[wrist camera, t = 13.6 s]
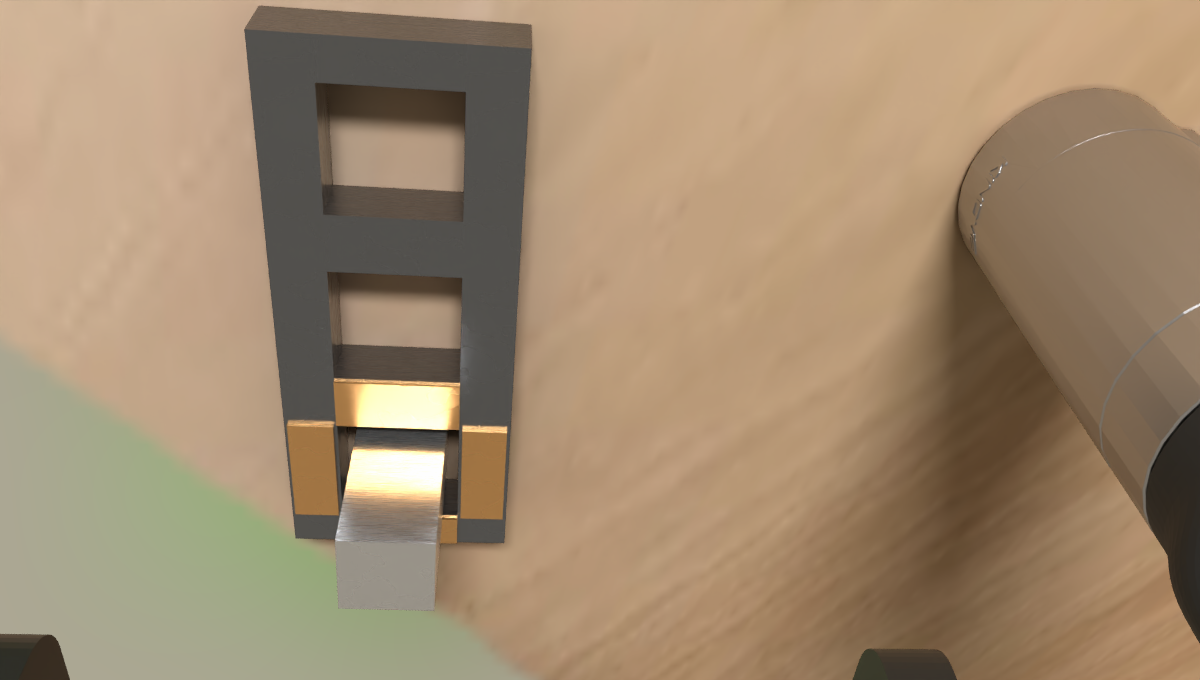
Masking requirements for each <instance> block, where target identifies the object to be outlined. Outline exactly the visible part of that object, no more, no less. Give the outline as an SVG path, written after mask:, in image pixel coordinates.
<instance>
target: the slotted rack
mask: <svg viewBox="0 0 1200 680" xmlns="http://www.w3.org/2000/svg"><path fill="white" fill-rule="evenodd" d="M244 30H245V40H246V50H247V60H248V70H249V80H250V90H251V100H252V110H253V120H254V130H255V139H256V149H257V159H258V169H259V179H260V189H261V199H262V209H263V219H264V229H265V239H266V249H267V259H268V268H269V278H270V288H271V298H272V308H273V318H274V328H275V338H276V348H277V358H278V368H279V378H280V388H281V398H282V407H283V417H284V427H285V437H286V447H287V457H288V467H289V477H290V487H291V497H292V507H293V517H294V527H295V536H296V538H304V539H335V538H336V533H337V528H338V523H339V518H340V513H341V508H342V503H343V498H344V493H345V488H346V483H347V477H348V472H349V457H348V440H347V426H355V427H386V428H416V429H447V430H459V463H458V480H455V479H446V483H445V495H444V506H443V517H442V529H441V540H440V543H455V544H457V542H480V543H504V538H505V520H506V502H507V484H508V466H509V447H510V429H511V411H512V393H513V375H514V357H515V339H516V321H517V303H518V285H519V267H520V249H521V231H522V213H523V195H524V177H525V159H526V141H527V123H528V105H529V87H530V69H531V50H532V40H531V25H528V24H514V23H499V22H485V21H470V20H456V19H442V18H427V17H413V16H399V15H384V14H370V13H356V12H341V11H327V10H313V9H298V8H284V7H269V6H258V8H257V10H256V11H255V13H254V14H253V16H252V18H251V19H250V21H249V23H248V24H247V26H246V27H245V29H244ZM327 83H329V84H345V85H361V86H377V87H393V88H408V89H424V90H440V91H456V92H466V112H465V162H464V192H451V191H433V190H414V189H396V188H378V187H359V186H341V185H333V180H332V163H331V146H330V128H329V111H328V94H327ZM338 272H344V273H366V274H387V275H409V276H430V277H452V278H462V312H461V349H441V348H416V347H391V346H366V345H342V336H341V319H340V301H339V284H338Z"/></svg>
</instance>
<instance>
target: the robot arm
mask: <svg viewBox="0 0 1200 680" xmlns="http://www.w3.org/2000/svg"><path fill="white" fill-rule="evenodd" d="M958 219H959V227H960V231H961V234H962V237H963V240H964V243H965V245H966V246H967V248H968V249H969V251H970V252H971V254H972V255H973V257H974V259H975V260H976V262H977V263H978V265H979V266H980V268H981V270H982V271H983V273H984V274H985V276H986V277H987V279H988V281H989V282H990V284H991V285H992V287H993V288H994V290H995V291H996V293H997V295H998V297H999V298H1000V300H1001V301H1002V303H1003V305H1004V306H1005V308H1006V309H1007V311H1008V312H1009V314H1010V315H1011V317H1012V318H1013V320H1014V321H1015V323H1016V324H1017V326H1018V328H1019V329H1020V331H1021V332H1022V334H1023V335H1024V337H1025V338H1026V340H1027V341H1028V343H1029V344H1030V346H1031V347H1032V349H1033V351H1034V352H1035V354H1036V355H1037V357H1038V358H1039V360H1040V361H1041V363H1042V364H1043V366H1044V367H1045V369H1046V370H1047V372H1048V373H1049V375H1050V377H1051V378H1052V380H1053V381H1054V383H1055V384H1056V386H1057V387H1058V389H1059V390H1060V392H1061V393H1062V395H1063V396H1064V398H1065V400H1066V401H1067V403H1068V404H1069V406H1070V407H1071V409H1072V410H1073V412H1074V413H1075V415H1076V416H1077V418H1078V419H1079V421H1080V423H1081V424H1082V426H1083V427H1084V429H1085V430H1086V432H1087V433H1088V435H1089V436H1090V438H1091V439H1092V441H1093V442H1094V444H1095V445H1096V447H1097V449H1098V450H1099V452H1100V453H1101V455H1102V456H1103V458H1104V459H1105V461H1106V462H1107V464H1108V465H1109V467H1110V468H1111V469H1112V471H1113V472H1114V474H1115V475H1116V477H1117V479H1118V480H1119V482H1120V483H1121V485H1122V486H1123V488H1124V489H1125V491H1126V492H1127V494H1128V495H1129V497H1130V498H1131V500H1132V502H1133V503H1134V505H1135V506H1136V508H1137V509H1138V511H1139V512H1140V514H1141V515H1142V517H1143V518H1144V520H1145V521H1146V523H1147V524H1148V526H1149V528H1150V529H1151V531H1152V532H1153V533H1154V535H1155V536H1156V538H1157V539H1158V541H1159V542H1160V544H1161V546H1162V547H1163V549H1164V550H1165V552H1166V554H1167V555H1168V564H1169V573H1170V579H1171V583H1172V587H1173V591H1174V594H1175V596H1176V599H1177V602H1178V604H1179V606H1180V608H1181V610H1182V613H1183V615H1184V617H1185V619H1186V620H1187V622H1188V624H1189V626H1190V627H1191V629H1192V631H1193V633H1194V635H1195V636H1196V638H1197V640H1198V641H1199V643H1200V135H1198V134H1197V133H1196V132H1195V131H1193V130H1187V129H1179V128H1178V127H1177V126H1176V125H1174V124H1173V123H1172V122H1171V121H1170V120H1168V119H1167V118H1166V117H1165V116H1164V115H1163V114H1161V113H1160V112H1159V111H1158V110H1157V109H1156V108H1154V107H1153V106H1151V105H1150V104H1148V103H1147V102H1145V101H1144V100H1142V99H1140V98H1139V97H1137V96H1134V95H1131V94H1128V93H1125V92H1122V91H1118V90H1109V89H1096V88H1093V89H1085V90H1077V91H1070V92H1067V93H1064V94H1061V95H1057V96H1054V97H1051V98H1048V99H1045V100H1043V101H1041V102H1039V103H1037V104H1036V105H1034V106H1032V107H1030V108H1028V109H1026V110H1024V111H1022V112H1021V113H1020V114H1018V115H1017V116H1015V117H1014V118H1013V119H1011V120H1010V121H1009V122H1007V123H1006V124H1005V125H1003V126H1002V127H1001V128H1000V129H999V130H998V131H997V132H996V133H995V134H994V135H993V136H992V137H991V138H990V139H989V140H988V142H987V143H986V144H985V145H984V146H983V148H982V149H981V151H980V152H979V153H978V155H977V156H976V158H975V159H974V161H973V162H972V164H971V166H970V168H969V170H968V173H967V175H966V177H965V180H964V182H963V184H962V188H961V193H960V198H959V203H958ZM0 680H70V678H69V675H68V672H67V669H66V666H65V662H64V658H63V655H62V652H61V649H60V646H59V643H58V641H57V640H56V638H55V637H54V636H52V635H33V634H0ZM853 680H957V679H956V676H955V674H954V671H953V669H952V666H951V664H950V662H949V661H948V659H947V657H946V656H945V655H944V654H943V653H942V652H941V651H939V650H928V649H867V650H865V651H864V653H863V654H862V656H861V658H860V660H859V663H858V666H857V669H856V672H855V675H854V677H853Z"/></svg>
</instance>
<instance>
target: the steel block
mask: <svg viewBox="0 0 1200 680" xmlns="http://www.w3.org/2000/svg"><path fill="white" fill-rule="evenodd" d="M447 446H448V430H447V429H416V428H386V427H357V432H356V437H355V442H354V447H353V452H352V457H351V462H350V467H349V472H348V477H347V483H346V488H345V493H344V498H343V503H342V508H341V513H340V518H339V523H338V528H337V533H336V538H335V551H336V570H337V588H338V608H345V609H385V610H387V609H388V610H424V611H434V608H435V597H436V586H437V574H438V563H439V552H440V540H441V529H442V517H443V506H444V495H445V483H446V472H447Z"/></svg>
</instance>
